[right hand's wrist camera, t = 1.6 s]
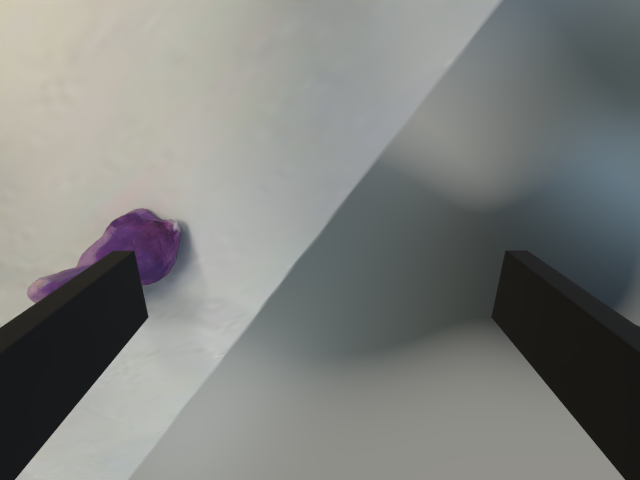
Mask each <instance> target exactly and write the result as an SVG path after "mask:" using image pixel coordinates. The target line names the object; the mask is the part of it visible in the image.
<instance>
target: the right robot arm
mask: <svg viewBox="0 0 640 480" xmlns="http://www.w3.org/2000/svg"><path fill="white" fill-rule="evenodd" d="M147 318H148V313H147V308H146V303H145V299H144V294H143V289H142V284H141V279H140V275H139V270H138V265H137V260H136V255H135V251H112V252H110V253H109V254H107V255H106V256H104V257H103V258H101V259H100V260H99V261H97V262H96V263H94V264H93V265H91V266H90V267H88V268H87V269H85V270H84V271H82V272H81V273H80V274H78V275H77V276H75V277H74V278H72V279H71V280H69V281H68V282H66V283H65V284H64V285H62V286H61V287H59V288H58V289H56V290H55V291H53V292H52V293H50V294H49V295H47V296H46V297H45V298H43V299H42V300H40V301H39V302H37V303H36V304H34V305H33V306H31V307H30V308H29V309H27V310H26V311H24V312H23V313H21V314H20V315H18V316H17V317H15V318H14V319H13V320H11V321H10V322H8V323H7V324H5V325H4V326H2V327H1V328H0V480H15V479H16V478H17V476H18V475H19V474H20V473H21V472H22V470H23V469H24V468H25V467H26V465H27V464H28V463H29V462H30V461H31V459H32V458H33V457H34V456H35V454H36V453H37V452H38V451H39V450H40V448H41V447H42V446H43V445H44V444H45V442H46V441H47V440H48V439H49V437H50V436H51V435H52V434H53V433H54V431H55V430H56V429H57V428H58V427H59V425H60V424H61V423H62V422H63V420H64V419H65V418H66V417H67V416H68V414H69V413H70V412H71V411H72V409H73V408H74V407H75V406H76V405H77V403H78V402H79V401H80V400H81V399H82V397H83V396H84V395H85V394H86V392H87V391H88V390H89V389H90V388H91V386H92V385H93V384H94V383H95V382H96V380H97V379H98V378H99V377H100V375H101V374H102V373H103V372H104V371H105V369H106V368H107V367H108V366H109V364H110V363H111V362H112V361H113V360H114V358H115V357H116V356H117V355H118V354H119V352H120V351H121V350H122V349H123V347H124V346H125V345H126V344H127V343H128V341H129V340H130V339H131V338H132V337H133V335H134V334H135V333H136V332H137V330H138V329H139V328H140V327H141V326H142V324H143V323H144V322H145V321H146V319H147ZM492 318H493V319H494V321H495V322H496V323H497V324H498V326H499V327H500V328H501V329H502V330H503V332H504V333H505V334H506V335H507V336H508V338H509V339H510V340H511V341H512V343H513V344H514V345H515V346H516V347H517V349H518V350H519V351H520V352H521V354H522V355H523V356H524V357H525V358H526V360H527V361H528V362H529V363H530V364H531V366H532V367H533V368H534V369H535V371H536V372H537V373H538V374H539V375H540V377H541V378H542V379H543V380H544V381H545V383H546V384H547V385H548V386H549V388H550V389H551V390H552V391H553V392H554V394H555V395H556V396H557V397H558V399H559V400H560V401H561V402H562V403H563V405H564V406H565V407H566V408H567V409H568V411H569V412H570V413H571V414H572V416H573V417H574V418H575V419H576V420H577V422H578V423H579V424H580V425H581V426H582V428H583V429H584V430H585V431H586V433H587V434H588V435H589V436H590V437H591V439H592V440H593V441H594V442H595V444H596V445H597V446H598V447H599V448H600V450H601V451H602V452H603V453H604V454H605V456H606V457H607V458H608V459H609V460H610V462H611V463H612V464H613V465H614V467H615V468H616V469H617V470H618V471H619V473H620V474H621V475H622V476H623V478H624V479H625V480H640V327H639V326H637V325H635V324H633V323H632V322H630V321H629V320H627V319H626V318H624V317H623V316H622V315H620V314H619V313H617V312H616V311H614V310H613V309H611V308H610V307H609V306H607V305H606V304H604V303H603V302H601V301H600V300H598V299H597V298H595V297H594V296H592V295H591V294H590V293H588V292H587V291H585V290H584V289H582V288H581V287H579V286H578V285H576V284H575V283H574V282H572V281H571V280H569V279H568V278H566V277H565V276H563V275H562V274H560V273H559V272H558V271H556V270H555V269H553V268H552V267H550V266H549V265H547V264H546V263H544V262H543V261H541V260H540V259H539V258H537V257H536V256H534V255H533V254H531V253H530V252H528V251H505V255H504V260H503V265H502V270H501V275H500V279H499V284H498V289H497V294H496V299H495V303H494V308H493V313H492Z"/></svg>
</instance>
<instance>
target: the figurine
mask: <svg viewBox="0 0 640 480" xmlns="http://www.w3.org/2000/svg"><path fill="white" fill-rule="evenodd" d="M180 234H181V230H180V226H179V224H178V223H177V222H176V221H175V220H160V219H158V218H157V217H155V216H154V215H152V214H151V213H150V212H149V211H148V210H146V209H135V210H133V211H131V212H129V213H127V214H126V215H124V216H121V217H119V218H117V219H115V220H114V221H112V222H111V224H110V225H109V226H108V227H107V229H106V230H105V232H104V234H103V236H102V237H101V238H100V239H99V240H98V241H97V242H95V243H94V244H93V245H92V246H90V247H89V248H88V249H87V250H86V251H85V252H84V253H83V255H82V256H81V257H80V259H79V262H78V264H77V267H76V268H72V269H68V270H64V271H61V272H59V273H56V274H53V275H49V276H46V277H42V278H39V279H38V280H36V281H35V282H33V283H32V284H31V285H30V286H29V288H28V292H27V295H28V297H29V298H30V299H31V300H32V301H33V302H35V303H37V302H39V301H40V300H42V299H43V298H45V297H46V296H47V295H49V294H50V293H52V292H53V291H55V290H56V289H58V288H59V287H61V286H62V285H64V284H65V283H66V282H68V281H69V280H71V279H72V278H74V277H75V276H77V275H78V274H80V273H81V272H82V271H84V270H85V269H87V268H88V267H90V266H91V265H93V264H94V263H96V262H97V261H99V260H100V259H101V258H103V257H104V256H106V255H107V254H109V253H110V252H112V251H135V255H136V260H137V265H138V270H139V275H140V279H141V284H142V285H148V284H151V283H154V282H157V281H159V280H160V279H162V278H163V277H165V276H166V275H167V274H168V273H169V271H170V270H171V268H172V266H173V265H174V263H175V262H176V253H177V250H178V247H179V241H180Z"/></svg>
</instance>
